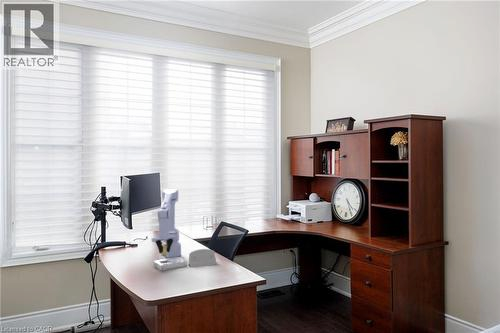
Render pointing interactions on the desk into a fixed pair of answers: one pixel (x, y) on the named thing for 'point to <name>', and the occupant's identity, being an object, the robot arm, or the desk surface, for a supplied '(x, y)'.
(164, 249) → the bushing
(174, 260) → the jig
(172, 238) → the robot arm
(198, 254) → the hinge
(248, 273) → the desk surface
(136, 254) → the desk surface
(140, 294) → the desk surface
